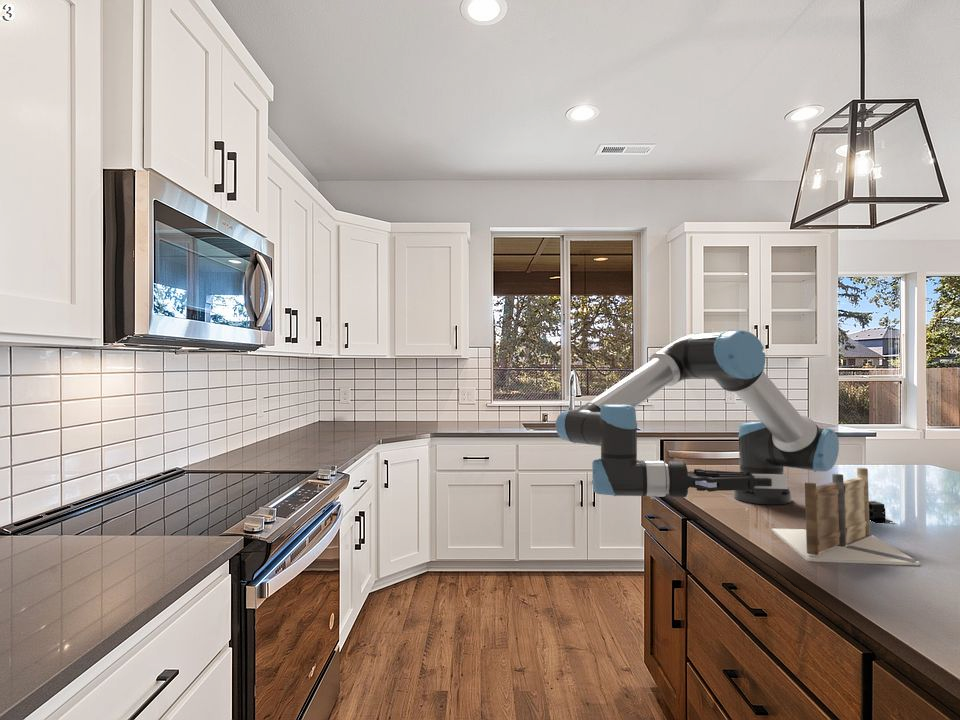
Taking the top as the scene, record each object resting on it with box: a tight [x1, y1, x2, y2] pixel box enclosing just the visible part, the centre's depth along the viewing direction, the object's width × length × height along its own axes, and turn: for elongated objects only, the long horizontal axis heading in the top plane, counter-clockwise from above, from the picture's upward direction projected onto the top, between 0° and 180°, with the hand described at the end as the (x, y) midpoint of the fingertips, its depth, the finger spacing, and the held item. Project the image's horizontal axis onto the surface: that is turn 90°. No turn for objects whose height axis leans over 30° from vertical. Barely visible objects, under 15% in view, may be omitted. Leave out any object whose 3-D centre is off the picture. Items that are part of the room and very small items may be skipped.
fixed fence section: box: [831, 467, 871, 547], centre depth 125 cm, size 14×2×15 cm, turn 125°
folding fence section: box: [804, 482, 840, 555], centre depth 118 cm, size 11×2×14 cm, turn 125°
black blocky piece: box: [869, 500, 893, 524], centre depth 145 cm, size 12×7×5 cm, turn 178°
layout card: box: [771, 528, 921, 566], centre depth 122 cm, size 22×20×1 cm
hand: (786, 481), depth 116 cm, fingers closed
